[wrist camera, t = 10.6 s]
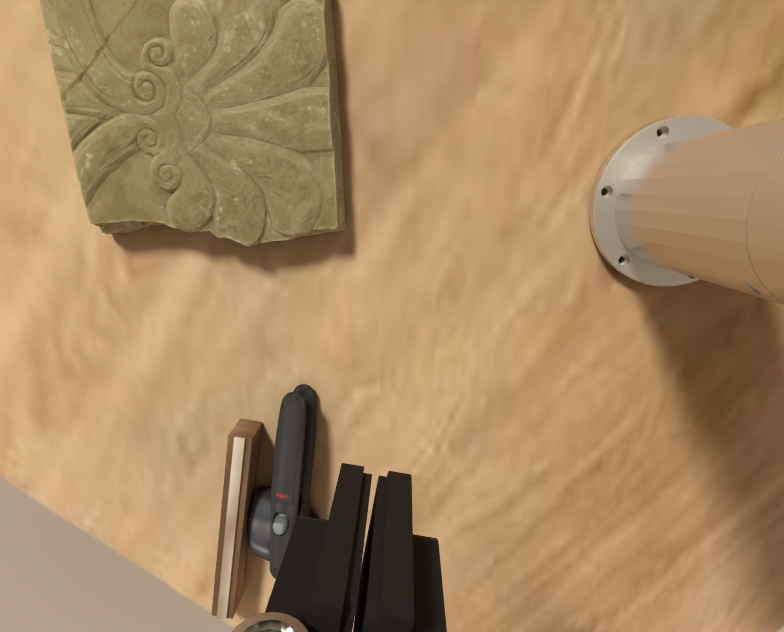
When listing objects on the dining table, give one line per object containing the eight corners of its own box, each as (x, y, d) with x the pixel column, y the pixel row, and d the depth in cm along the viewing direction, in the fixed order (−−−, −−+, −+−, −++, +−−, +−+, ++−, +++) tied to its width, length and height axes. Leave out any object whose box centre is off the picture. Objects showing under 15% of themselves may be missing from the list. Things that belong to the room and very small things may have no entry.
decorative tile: (60, -6, 35) (22, -28, 32) (331, -25, 34) (323, -49, 31) (110, 249, 40) (82, 254, 36) (350, 238, 39) (344, 242, 36)
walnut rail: (262, 422, 43) (251, 440, 40) (243, 592, 48) (231, 620, 45) (240, 418, 43) (227, 436, 40) (223, 589, 48) (210, 616, 45)
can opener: (320, 552, 47) (309, 599, 41) (249, 540, 47) (229, 586, 41) (346, 385, 42) (337, 415, 37) (268, 372, 42) (247, 399, 37)
